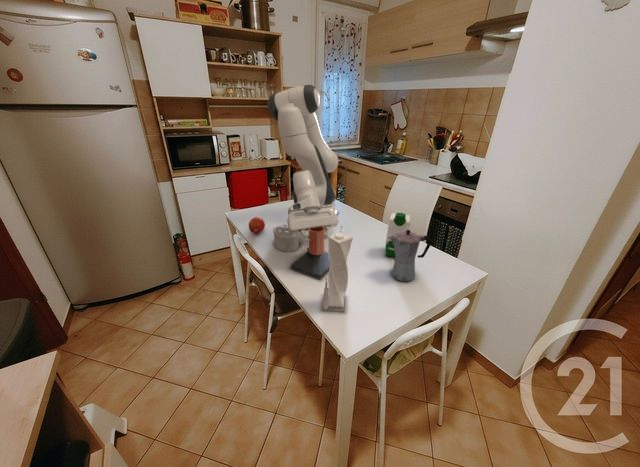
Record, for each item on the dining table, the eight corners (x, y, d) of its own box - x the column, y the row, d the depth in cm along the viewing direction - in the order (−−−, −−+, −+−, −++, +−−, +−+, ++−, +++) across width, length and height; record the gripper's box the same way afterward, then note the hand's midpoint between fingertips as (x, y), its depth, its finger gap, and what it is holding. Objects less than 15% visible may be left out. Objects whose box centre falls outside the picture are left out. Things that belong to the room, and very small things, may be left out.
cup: (314, 245, 108) (314, 223, 103) (327, 249, 105) (327, 227, 101) (305, 252, 103) (305, 229, 99) (319, 256, 101) (319, 233, 96)
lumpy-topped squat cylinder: (291, 236, 132) (290, 220, 128) (303, 247, 122) (303, 231, 118) (272, 241, 127) (270, 225, 123) (283, 254, 118) (281, 237, 114)
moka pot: (382, 267, 109) (388, 224, 100) (419, 268, 109) (429, 225, 99) (386, 281, 101) (393, 236, 91) (427, 282, 100) (438, 237, 91)
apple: (267, 229, 139) (265, 215, 136) (262, 236, 132) (261, 222, 128) (252, 228, 140) (250, 214, 136) (247, 235, 133) (245, 221, 129)
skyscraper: (325, 293, 94) (326, 223, 81) (347, 295, 94) (352, 224, 81) (322, 310, 87) (324, 236, 74) (347, 312, 86) (353, 237, 73)
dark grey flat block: (311, 251, 120) (311, 244, 118) (339, 260, 114) (339, 253, 112) (290, 268, 108) (290, 261, 106) (320, 279, 101) (320, 272, 100)
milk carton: (383, 256, 116) (389, 215, 107) (385, 246, 124) (391, 207, 115) (403, 260, 114) (411, 218, 104) (405, 250, 121) (412, 210, 112)
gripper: (331, 207, 111) (339, 238, 107) (283, 213, 105) (290, 246, 101) (335, 201, 105) (344, 233, 101) (285, 206, 99) (292, 241, 95)
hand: (317, 239), depth 101 cm, fingers closed on cup, 6 cm apart
